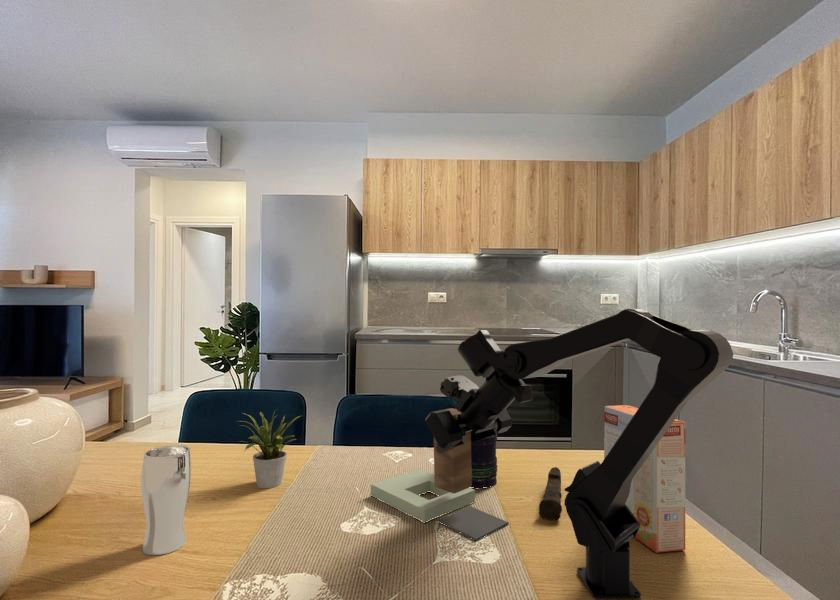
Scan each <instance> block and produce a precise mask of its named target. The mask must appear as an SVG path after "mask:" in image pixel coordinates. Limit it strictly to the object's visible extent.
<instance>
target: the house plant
mask: <svg viewBox="0 0 840 600" xmlns="http://www.w3.org/2000/svg"><path fill="white" fill-rule="evenodd" d="M276 411H277V409H275V410H274V412H273V415H272V418H271V420H270V423H269V422H268V420H267V419H266V418H265V415H264V413H263V412H261V411H260V412H259V415H260V417H261V422H262V426H260V427H259V424H258V423H257V421H256V420H255V418H254V417H253V416H251V415H249V414H247V413H245V412H244V413H243V412H241V414H243V415H245V416H248V417H249V418H250V419H251V420H252V422H253V423H251V422H249V421H245V420H244V421H242V420H241V422H244V423H247V424H248V425H250V426H252V427H253V428H254V429H255V431H256V432H257V433H258V435H259V436H258V435H256V433H255V432H254V431H253V429H252V428H251V427H249V426H247V425H243V424H242V425H241V424H240V425H237V426H243V427H246V428H247V429H249V430H250V431H251V432H252V434H253V435H251V436H249V437H248V439H250V440H252V441H253V442H252V443H249V442H246V441H244V440H240V441H237V442H238V443H239V442H240V443H241V442H243V443H247V445H245V448H244V451H246V450H248V449H249V448H251V447H252V448H254V449H255V450H256V451H258V452H256V453H255V454H253V456H252V460H253V467H254V473H255V481H256V483H255V484H256V486H257V488H259V489H260V488H261V489H271V488H272V489H273V488H275V487H276V488H277V487H278V486H281V484H283V477H284V472H285V467H286V460H287V455H288V454H287V452H286V451H284V450H283V448H284V447H285V446H286V445H287V444H289V442H292V441H298V440H297V439H296V438H293V437H294V435H286V436H283V434H284V433H285V431H286V430H287V429H288V428H289V427H290V426H291V425H292V424H293V423H294V422H295V420H297V419H299V418H300V417H303V415H299V416H296V417H295V418H293V419H292V420H290V422H288V423H287V422H285V417H286V414H284V416H283V417H282V419H281V421H280V423H279V426H278V428H277V429H276V430H275V431H274V432H273V434H272V430H273V429H272V428H273V423H274V420H275V418H276V417H277V415H275V412H276ZM274 415H275V416H274ZM235 422H237V423H238V422H239V420H237V421H235ZM284 422H285V423H284ZM286 424H287V425H286ZM289 438H291V439H289ZM287 439H289V440H288V441H286V442H285V443H284V444H283V442H284V441H285V440H287ZM255 442H256V443H255ZM255 445H258V446H259V449H260V450H261V451H259V450H258V449H257V448H256V447H255Z"/></svg>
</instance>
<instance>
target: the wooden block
mask: <svg viewBox="0 0 840 600" xmlns="http://www.w3.org/2000/svg"><path fill="white" fill-rule="evenodd" d="M444 410H449V411H450V412H451V414H452V415H453V417H454V419H455V420H457V417H456V416H457V415H458V414H461V412H460V411H458V410H457V409H456V408H452V407H451V408H446V409H445V408H444ZM465 433H466V435H465V436H464V437H463V439H462V441H463V443H464V444H463V445H460V446H457V447H455V448H452V449H449V450H447V451H444V452H441V453H438V451H437V450H436V446H437V441H436V440H435V438H434V437H433V465H434V466H433V468H434V469H433V471H434V472H433V474H434V487H437V488H440V489H442V490H445V491H448V492H451V493H453V494H455V493H457V492H460V491H462V490H465V489H467V488H469V487H472V467H471V431H469V432H465Z"/></svg>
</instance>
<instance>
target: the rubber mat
mask: <svg viewBox="0 0 840 600" xmlns="http://www.w3.org/2000/svg"><path fill="white" fill-rule="evenodd" d="M438 521H439V522H441V523H443V524H445V525H447V526H449V527H450V528H452V529H454V530H456V531H458V532H461V533H462V534H464V535H466V536H468V537H470V538H472V539H474V540H476V541H475V542H477V540H478V541H480V540H481V539H480V538H482V539H484V538H485V537H484V536H486V535H487V536H489V535H491V534H493V533H495V532H497V531H499V530H500V528H501V529H503V528H505V527H506V525H507V526H508V525H509V522H508V521H506V520H504V519H501V518H500V517H497V516H494V515H493V514H490V513H488V512H486V511H483V510H480V509H478V508H476V507H474V506H471V505H468V506H466V507H464V508H461V509H459V510H457V511H456V512H455V511H454V512H452V513H451V514H447V515H445V516H443V517H440V518H438V519H437V522H438ZM504 526H505V527H504ZM502 527H503V528H502ZM450 528H449V529H450ZM452 529H451V530H452ZM498 529H499V530H498ZM454 530H453V531H454ZM496 530H497V531H496ZM456 531H455V532H456ZM494 531H495V532H494ZM458 532H457V533H458ZM492 532H493V533H492ZM490 533H491V534H490ZM462 534H461V535H462ZM488 534H489V535H488ZM464 535H463V536H464ZM466 536H465V537H466ZM487 536H486V537H487ZM468 537H467V538H468ZM483 537H484V538H483ZM470 538H469V539H470ZM472 539H471V540H472ZM479 539H480V540H479ZM474 540H473V541H474Z"/></svg>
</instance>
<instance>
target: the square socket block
mask: <svg viewBox="0 0 840 600" xmlns="http://www.w3.org/2000/svg"><path fill="white" fill-rule="evenodd" d="M427 491H431V492H433V493H435V494H437V495H439V496H436V497H434V498H431V499H427V498H425V497H423V496H422V495H421V496H419V494H422V493H425V492H427ZM371 495H372V496H374V497H376V498H378V499H380V500H382V501H384V502H385V503H388V504H389V505H391V506H393V507H395V508H397V509H399V510H401V511H403V512H405V513H407V514H409V515H412V516H414V517H416V518H418V519H420V520H422V521H423V522H426V521H428V520H430V519H432V518H435V517H437V516H440V515H442V514H445V513H448V512H451V511H453V510H456V509H458V508H461V507H463V506H465V505H468V504H470V503H472V502H476V489H472V488H467V489H465V490H462V491H460V492H457V493H455V494H453V493H451V492H448V491H445V490H442V489H440V488H437V487H434V472H429V471H427V470H424V469H422V468H418V469H416V470H413V471H412V470H411V471H409V472H406V473H403V474H399V475H395V476H393V477H390V478H387V479H384V480H380V481H376V482H373V483H371V484H370V496H371ZM472 504H473V503H472ZM470 505H471V504H470ZM468 506H469V505H468ZM465 507H466V506H465ZM463 508H464V507H463ZM461 509H462V508H461ZM458 510H459V509H458ZM456 511H457V510H456ZM451 513H452V512H451Z"/></svg>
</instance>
